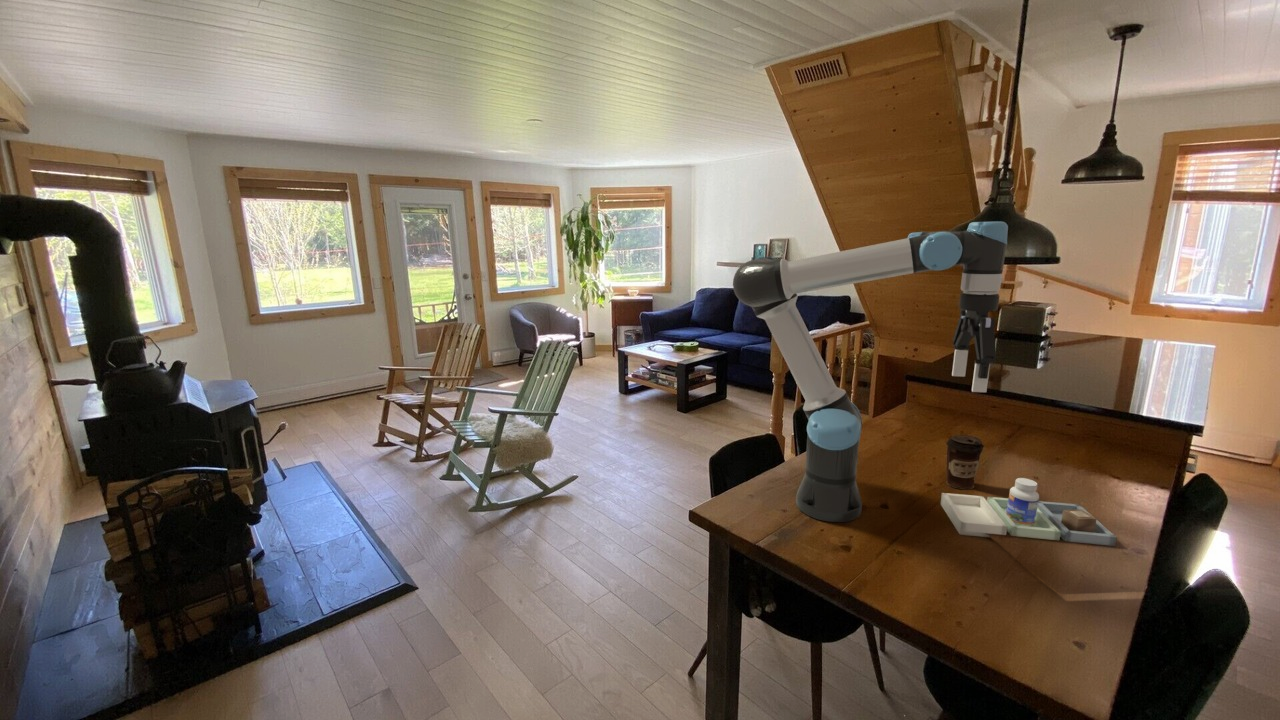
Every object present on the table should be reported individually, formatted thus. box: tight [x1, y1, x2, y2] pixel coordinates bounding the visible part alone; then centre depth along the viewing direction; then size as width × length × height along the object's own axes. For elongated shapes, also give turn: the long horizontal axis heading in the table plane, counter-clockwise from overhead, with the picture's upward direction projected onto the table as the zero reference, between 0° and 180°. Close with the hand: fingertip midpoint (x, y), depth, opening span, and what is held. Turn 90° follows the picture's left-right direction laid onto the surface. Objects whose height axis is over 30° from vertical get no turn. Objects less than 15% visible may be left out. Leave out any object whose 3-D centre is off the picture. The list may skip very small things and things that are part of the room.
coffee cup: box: [945, 434, 985, 490], centre depth 139 cm, size 9×8×13 cm
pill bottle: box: [1006, 477, 1040, 526], centre depth 119 cm, size 5×5×10 cm
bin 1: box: [940, 492, 1008, 538], centre depth 123 cm, size 9×14×3 cm, turn 166°
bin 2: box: [1037, 500, 1117, 547], centre depth 118 cm, size 9×14×3 cm, turn 166°
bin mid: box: [986, 496, 1061, 541], centre depth 120 cm, size 9×14×3 cm, turn 166°
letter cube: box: [1061, 509, 1098, 533], centre depth 116 cm, size 4×4×4 cm
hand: (968, 383), depth 124 cm, fingers open, 13 cm apart
